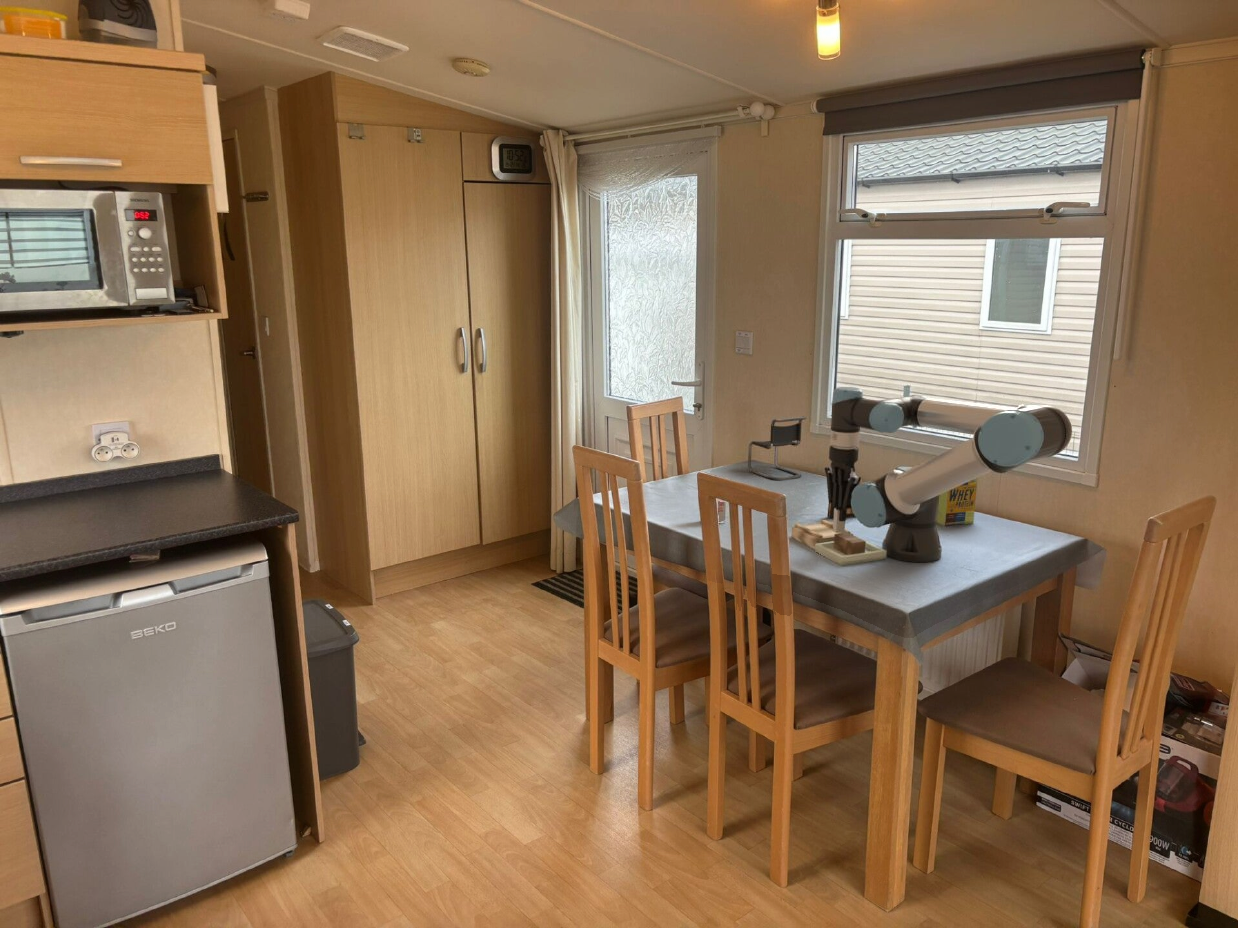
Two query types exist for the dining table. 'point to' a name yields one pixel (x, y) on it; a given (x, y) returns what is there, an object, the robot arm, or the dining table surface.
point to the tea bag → (721, 510)
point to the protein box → (958, 504)
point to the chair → (780, 444)
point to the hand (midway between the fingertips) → (838, 531)
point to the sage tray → (843, 559)
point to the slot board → (814, 533)
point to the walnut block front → (853, 546)
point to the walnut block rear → (840, 540)
